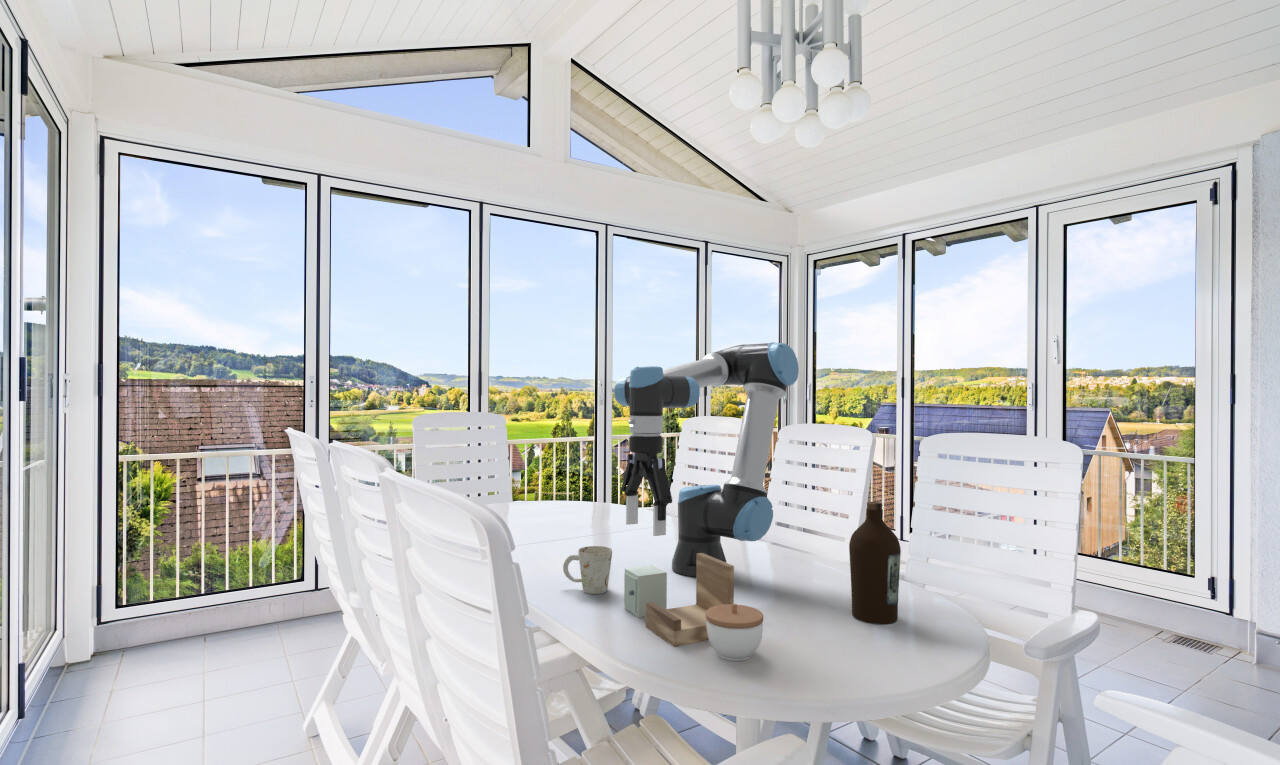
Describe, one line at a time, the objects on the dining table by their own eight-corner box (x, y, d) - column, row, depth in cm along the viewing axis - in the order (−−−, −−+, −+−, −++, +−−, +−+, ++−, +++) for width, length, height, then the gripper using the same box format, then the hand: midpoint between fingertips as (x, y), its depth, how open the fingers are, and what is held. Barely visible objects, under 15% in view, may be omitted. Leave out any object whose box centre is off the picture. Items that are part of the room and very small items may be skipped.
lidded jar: (700, 644, 130) (701, 596, 130) (754, 643, 131) (755, 595, 131) (711, 667, 119) (711, 614, 119) (770, 665, 120) (770, 613, 120)
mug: (607, 596, 160) (607, 554, 160) (557, 593, 162) (557, 552, 162) (615, 586, 168) (615, 546, 168) (567, 583, 170) (567, 544, 170)
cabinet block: (651, 604, 155) (652, 565, 155) (666, 613, 148) (666, 572, 148) (619, 609, 151) (620, 569, 151) (633, 618, 145) (633, 576, 145)
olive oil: (842, 619, 145) (842, 503, 145) (857, 606, 153) (857, 497, 154) (893, 629, 139) (893, 508, 139) (906, 615, 147) (906, 502, 148)
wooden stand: (702, 617, 145) (702, 552, 146) (733, 635, 135) (733, 565, 135) (645, 627, 139) (646, 559, 139) (674, 646, 128) (674, 573, 129)
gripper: (608, 431, 160) (607, 520, 159) (657, 438, 138) (656, 542, 137) (636, 431, 163) (635, 518, 163) (688, 437, 141) (688, 538, 141)
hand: (645, 529), depth 150 cm, fingers open, 13 cm apart
